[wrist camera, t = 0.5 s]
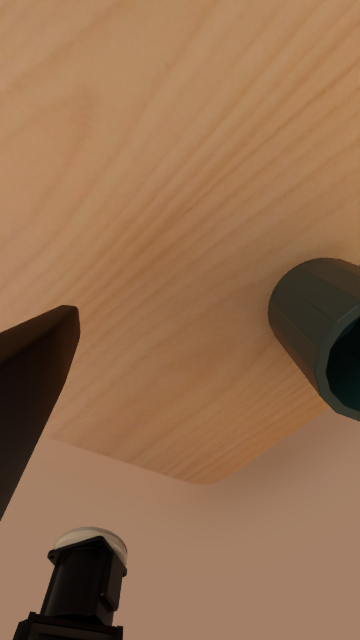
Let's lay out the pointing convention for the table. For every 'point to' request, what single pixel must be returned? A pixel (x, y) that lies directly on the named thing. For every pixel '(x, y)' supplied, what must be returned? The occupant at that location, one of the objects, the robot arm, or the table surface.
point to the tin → (322, 328)
